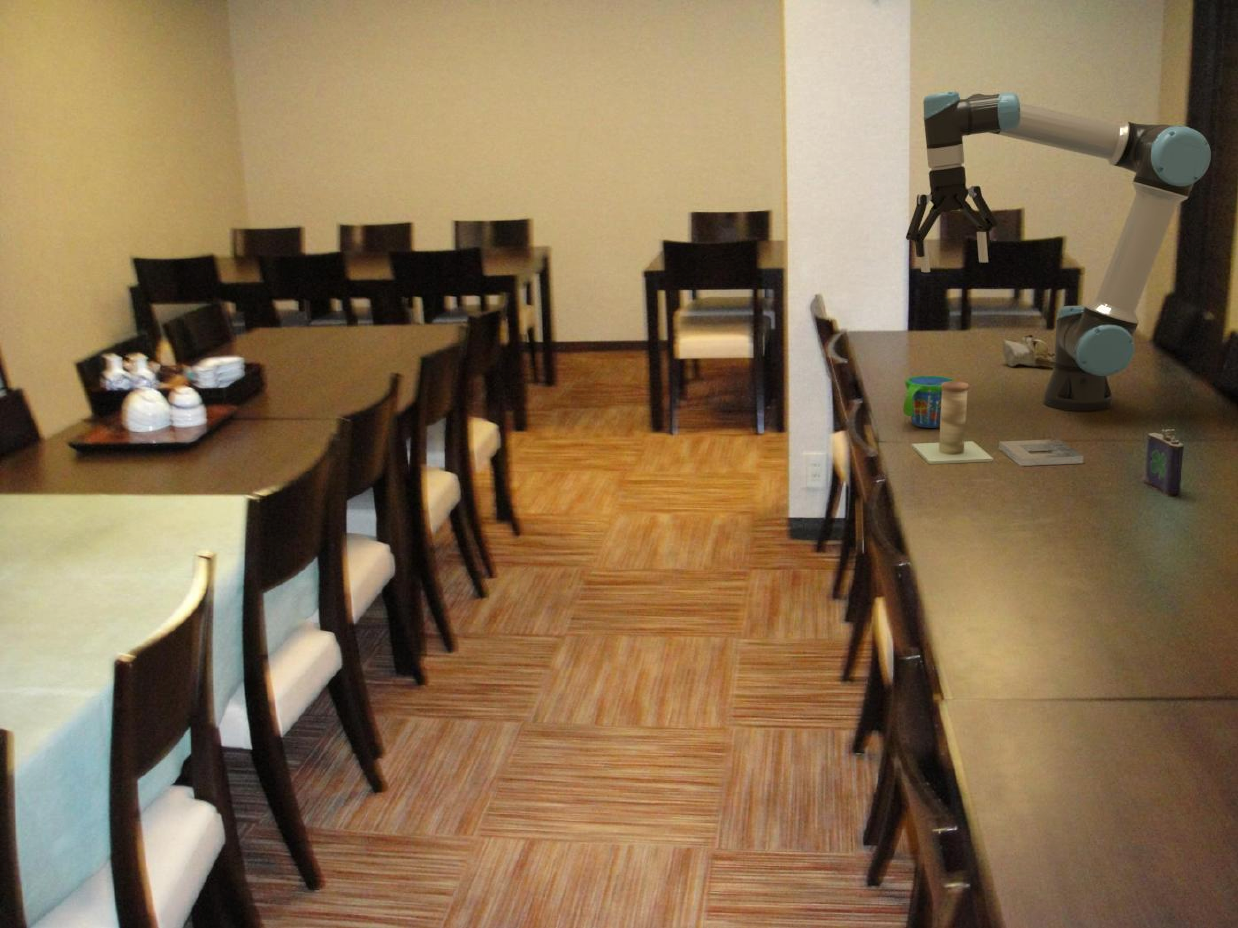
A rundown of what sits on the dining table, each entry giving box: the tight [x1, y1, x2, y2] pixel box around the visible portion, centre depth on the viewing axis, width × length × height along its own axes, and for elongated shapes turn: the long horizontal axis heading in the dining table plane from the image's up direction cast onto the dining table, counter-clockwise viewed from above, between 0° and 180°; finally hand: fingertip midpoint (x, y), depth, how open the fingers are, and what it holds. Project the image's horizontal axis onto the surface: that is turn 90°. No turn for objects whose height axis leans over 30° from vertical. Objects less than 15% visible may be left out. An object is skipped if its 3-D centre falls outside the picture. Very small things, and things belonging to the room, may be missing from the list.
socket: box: [998, 438, 1084, 467], centre depth 260 cm, size 13×13×2 cm
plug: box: [938, 380, 970, 454], centre depth 261 cm, size 5×5×14 cm
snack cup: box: [902, 375, 955, 429], centre depth 284 cm, size 16×10×10 cm
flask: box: [1143, 428, 1185, 498], centre depth 236 cm, size 10×3×12 cm, turn 8°
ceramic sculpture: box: [1002, 334, 1055, 368], centre depth 338 cm, size 11×9×15 cm
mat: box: [911, 440, 994, 465], centre depth 263 cm, size 13×13×1 cm
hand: (954, 267), depth 278 cm, fingers open, 13 cm apart
